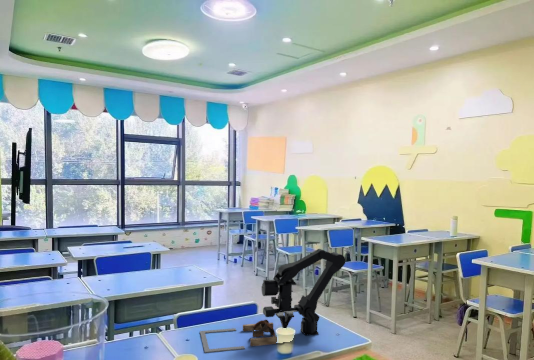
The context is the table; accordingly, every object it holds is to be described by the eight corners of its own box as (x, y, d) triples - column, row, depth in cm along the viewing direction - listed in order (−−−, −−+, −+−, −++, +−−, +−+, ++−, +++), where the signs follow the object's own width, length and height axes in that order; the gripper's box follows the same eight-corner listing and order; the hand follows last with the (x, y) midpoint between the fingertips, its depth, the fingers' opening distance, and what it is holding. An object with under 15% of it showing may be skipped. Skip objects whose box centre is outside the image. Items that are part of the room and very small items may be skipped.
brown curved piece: (277, 344, 157) (268, 328, 155) (257, 351, 158) (248, 336, 157) (278, 326, 168) (269, 311, 167) (259, 333, 170) (251, 319, 168)
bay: (235, 329, 170) (235, 328, 170) (244, 349, 150) (244, 348, 150) (199, 331, 166) (199, 331, 166) (204, 352, 145) (204, 351, 145)
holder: (272, 327, 173) (272, 322, 173) (283, 343, 156) (283, 337, 156) (242, 330, 169) (242, 324, 169) (251, 346, 152) (251, 340, 152)
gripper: (298, 288, 176) (297, 321, 175) (260, 290, 171) (259, 324, 170) (307, 295, 165) (306, 331, 165) (266, 298, 160) (265, 334, 160)
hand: (284, 330), depth 165 cm, fingers closed
